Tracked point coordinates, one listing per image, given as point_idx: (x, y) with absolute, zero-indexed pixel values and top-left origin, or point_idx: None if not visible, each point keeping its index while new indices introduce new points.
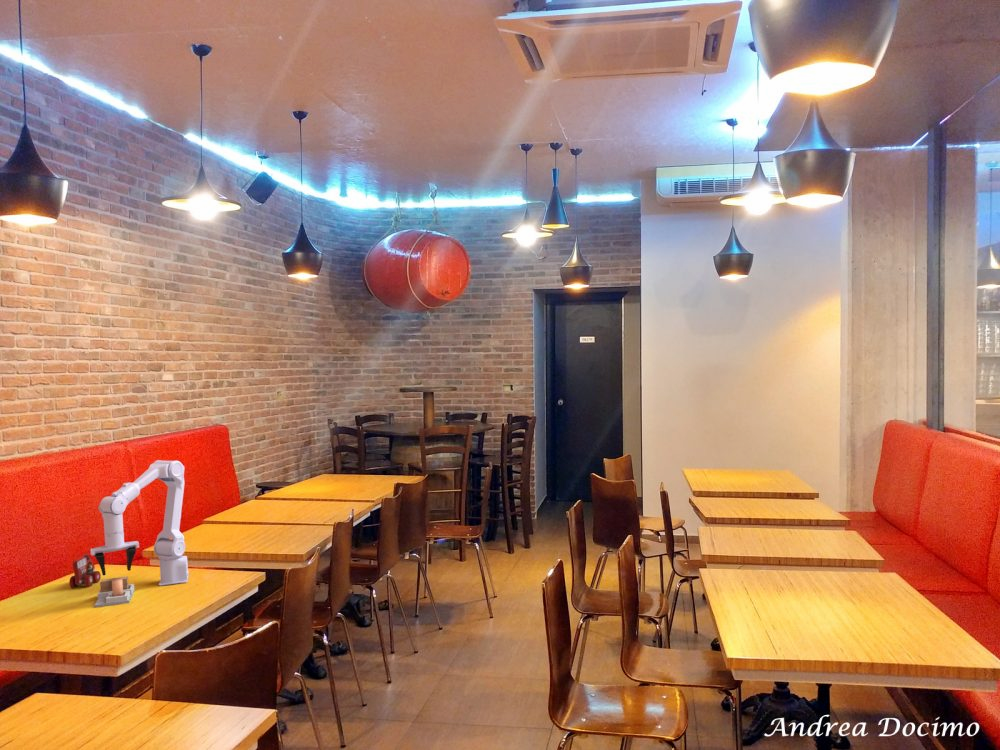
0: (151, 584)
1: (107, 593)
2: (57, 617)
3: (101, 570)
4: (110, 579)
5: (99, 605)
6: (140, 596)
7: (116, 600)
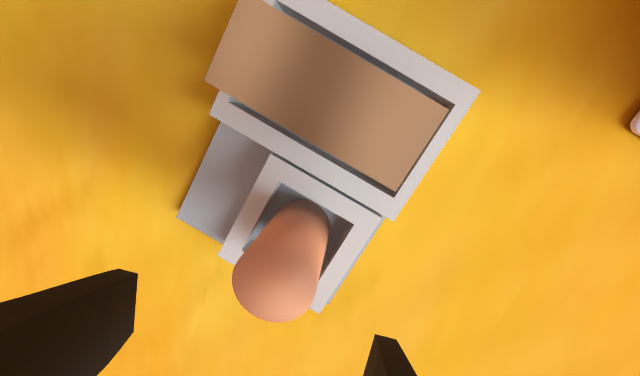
0: (633, 20)
1: (264, 146)
2: (22, 211)
3: (74, 283)
4: (296, 72)
5: (201, 227)
6: (425, 238)
7: None
